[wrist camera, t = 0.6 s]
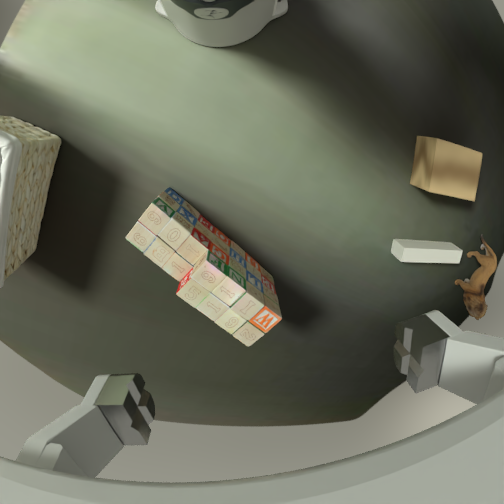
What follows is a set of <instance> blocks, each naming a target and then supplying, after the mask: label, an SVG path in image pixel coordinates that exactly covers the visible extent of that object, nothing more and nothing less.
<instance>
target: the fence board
mask: <svg viewBox="0 0 504 504" xmlns="http://www.w3.org/2000/svg"><path fill="white" fill-rule="evenodd" d="M462 252H463V251H462V250H461V249H460V248H458V247H457V246H455V245H454V244H452V243H451V242H437V241H422V240H406V239H393V244H392V249H391V253H392V254H393V255H394V256H395V257H396V258H397V259H398V260H399V261H401V262H422V263H459V262H460V259H461V255H462Z"/></svg>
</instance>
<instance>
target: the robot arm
mask: <svg viewBox="0 0 504 504" xmlns="http://www.w3.org/2000/svg"><path fill="white" fill-rule="evenodd" d="M277 1H278V0H157V3H156V6H155V9H156V11H157V13H158V14H159V15H161V16H163V17H165V18H167V19H169V20H170V21H171V22H172V23H173V24H174V26H175V27H176V28H177V30H178V31H179V32H180V33H181V34H182V35H183V36H184V37H186V38H187V39H189V40H191V41H193V42H195V43H197V44H200V45H204V46H210V47H225V46H231V45H236V44H239V43H242V42H244V41H246V40H248V39H250V38H252V37H253V36H255V35H256V34H257V33H259V32H260V31H261V30H262V29H263V28H264V26H265V25H266V24H267V23H268V22H269V21H271V20H273V19H275V18H277V17H280V16H282V15H284V14H285V13H286V12H287V10H288V2H287V0H281V2H277ZM395 336H396V337H397V338H398V341H397V342H396V344H395V345H394V359H395V363H396V366H397V368H398V369H399V371H400V372H401V373H403V374H406V375H407V382H408V383H409V385H410V386H411V388H412V389H413V390H414V392H415V393H418V392H421V391H424V390H426V389H429V388H432V387H434V386H436V385H438V386H439V387H441V388H443V389H445V390H448V391H450V392H452V393H454V394H456V395H458V396H460V397H463V398H465V399H467V400H469V401H471V402H473V403H475V404H477V405H475V406H473V407H472V408H470V409H468V410H466V411H464V412H462V413H460V414H458V415H457V416H454V417H453V418H451V419H448V420H446V421H444V422H442V423H440V424H438V425H436V426H433V427H431V428H429V429H427V430H424V431H422V432H420V433H417V434H415V435H413V436H410V437H407V438H405V439H402V440H400V441H397V442H395V443H392V444H389V445H386V446H383V447H381V448H378V449H375V450H372V451H368V452H365V453H362V454H359V455H356V456H353V457H349V458H345V459H342V460H338V461H334V462H330V463H327V464H322V465H318V466H314V467H310V468H305V469H301V470H295V471H290V472H284V473H279V474H273V475H266V476H260V477H252V478H244V479H234V480H223V481H209V482H187V483H186V482H185V483H162V482H160V483H159V482H136V481H121V480H111V479H102V478H95V477H96V476H97V475H98V474H99V473H100V472H101V471H102V469H103V468H104V467H105V466H106V465H107V464H108V463H109V462H110V461H111V460H112V459H113V458H114V457H115V456H116V454H118V452H119V451H120V450H121V449H122V448H123V447H124V446H123V445H147V444H148V440H149V436H150V432H151V429H150V427H149V426H148V425H149V424H150V423H151V422H152V421H153V420H154V416H155V405H154V401H153V398H152V396H151V394H150V393H149V392H148V391H146V390H145V389H143V388H144V385H145V382H144V380H143V378H142V376H141V375H140V374H138V373H131V374H112V375H110V374H109V375H98V376H96V378H95V379H94V381H93V383H92V385H91V387H90V388H89V390H88V392H87V394H86V396H85V398H84V400H83V401H82V403H81V405H76V406H75V407H73V408H72V409H71V410H69V411H68V412H66V413H65V414H63V415H62V416H61V417H59V418H57V419H56V420H54V421H53V422H52V423H50V424H49V425H47V426H45V427H44V428H42V429H41V430H39V431H38V432H36V433H35V434H33V435H32V436H30V437H29V438H28V439H27V441H26V443H25V445H24V446H23V448H22V450H21V452H20V453H19V455H18V457H17V459H16V461H13V460H10V459H7V458H3V457H0V504H504V338H500V337H495V336H490V335H486V334H482V333H477V332H472V331H468V330H466V331H464V332H463V331H462V330H461V329H460V328H459V327H457V326H456V325H455V324H454V323H453V322H451V321H450V320H449V319H448V318H447V317H445V316H444V315H443V314H442V313H441V312H439V311H437V310H433V311H431V312H428V313H425V314H423V315H421V316H418V317H415V318H412V319H409V320H406V321H403V322H400V323H397V324H396V327H395Z"/></svg>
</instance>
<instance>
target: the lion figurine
mask: <svg viewBox="0 0 504 504" xmlns="http://www.w3.org/2000/svg"><path fill="white" fill-rule="evenodd" d="M480 238H481V240H482V242H483V244H482V245H481V247H480V248H481V250H483V249H484V248H485V250H486V255H481V254H479V252H478V251H474V252H472V251H471V252H468V253H467V257H468V258H471V256H472V255H474V256H475V257H476V258H477V260H478V262H479V263H480V264H481V267H479V268H478V269H477V270H476V271H475V272H474V273H473V275H472V277H471V279H470V280H469V279H465V280H464V282H463V281H462V280H460V279H457V280H456V281H455V284H456V285H458V284H460V286H461V287H462V289H463V290H464V295H463V297H464V299H463V301H464V303H465V306H466V308H467V310H468V312H469V314H470V316H472V317H475V318H476V319H477V320H478V319H479V318H481V317H483V316H484V315H485V313H486V310H487V305H486V304H485V296H484V287H485V285H486V283H487V281H488V279H489V277H490V276H491V275H492V274H493V273H494V271H495V270H496V267H497V259H496V255H495V253H494V252H493V250H492V249H491V248H490V247H489V246H488V245H487V244H486V242H485V241H484V238H483V235H482V234H481V236H480Z"/></svg>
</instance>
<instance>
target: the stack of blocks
mask: <svg viewBox="0 0 504 504" xmlns="http://www.w3.org/2000/svg"><path fill="white" fill-rule="evenodd" d="M126 239H127V240H128V241H129V242H130V243H132V244H133V245H134V246H135V247H136V248H138V249H139V250H140V251H142V252H143V253H144V254H145V255H146V256H147V257H148V258H149V259H151V260H152V261H153V262H154V263H156V264H157V265H158V266H159V267H161V268H162V269H163V270H164V271H166V272H167V273H168V274H169V275H171V276H172V277H173V278H175V279H176V280H178V281H180V283H179V286H178V289H177V292H176V294H177V295H178V296H179V297H180V298H182V299H183V300H185V301H186V302H187V303H189V304H190V305H191V306H193V307H194V308H196V309H198V310H199V311H200V312H202V313H203V314H204V315H206V316H207V317H209V318H210V319H211V320H213V321H214V322H215V323H216V324H218V325H219V326H220V327H222V328H223V329H225V330H226V331H227V332H229V333H230V334H232V335H233V336H234V337H235V338H237V339H238V340H239V341H241V342H242V343H244V344H245V345H247V346H251V345H252V344H253V343H254V342H255V341H257V340H258V339H259V338H260V337H262V336H263V335H264V333H266V332H268V331H269V330H270V329H271V328H272V327H273V326H275V325H276V324H277V323H278V322H279V321H280V320H281V319H282V316H281V312H280V308H279V302H278V297H277V295H276V291H275V287H274V280H273V277H272V275H270V274H269V273H268V272H267V271H266V270H265V269H264V268H262V267H261V266H260V265H259V263H257V262H256V261H255V260H254V259H253V258H252V257H251V256H249V255H248V254H247V253H246V252H245V251H244V250H243V249H242V248H240V247H239V246H238V245H237V244H236V243H235V242H233V241H232V240H230V239H229V238H228V237H226V236H225V235H224V234H223V233H222V232H221V231H219V230H218V229H217V228H216V227H214V226H213V225H212V224H211V223H210V222H209V221H207V220H206V219H205V218H204V217H203V216H202V215H200V213H199V212H198V211H197V210H196V209H195V208H193V207H192V206H191V205H190V204H189V203H188V202H186V201H185V200H184V199H183V198H182V197H180V196H179V195H178V194H177V193H176V192H175V191H173V190H172V189H171V188H170V187H169V188H167V189H166V190H165V191H164V192H162V193H161V194H160V195H159V196H158V197H157V198H156V199H155V200H154V201H153V202H152V203H151V205H150V206H149V207H148V208H147V210H146V211H145V212H144V213H143V215H142V216H141V217H140V219H139V220H138V222H137V223H136V224H135V226H134V227H133V228H132V230H131V231H130V232H129V234H128V235H127V236H126Z"/></svg>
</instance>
